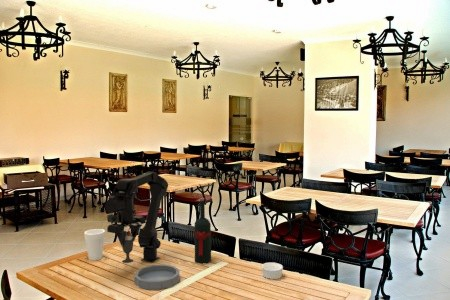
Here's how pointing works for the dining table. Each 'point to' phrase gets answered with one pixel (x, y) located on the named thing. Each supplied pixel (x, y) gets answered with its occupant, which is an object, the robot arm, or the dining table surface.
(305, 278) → the dining table surface
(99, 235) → the foam cup
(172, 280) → the grey polygonal tray
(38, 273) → the dining table surface
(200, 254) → the wine bottle
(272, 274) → the ramekin
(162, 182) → the robot arm
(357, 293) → the dining table surface
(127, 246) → the sundae
